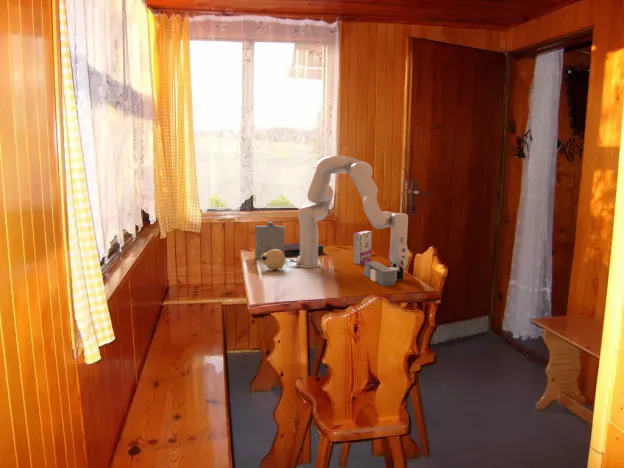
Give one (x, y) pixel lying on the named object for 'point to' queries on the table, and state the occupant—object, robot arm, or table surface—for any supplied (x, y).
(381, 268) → the block
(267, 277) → the table surface
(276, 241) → the hip flask
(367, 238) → the candy bar box
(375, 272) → the white rectangular block
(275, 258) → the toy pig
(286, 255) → the diary
